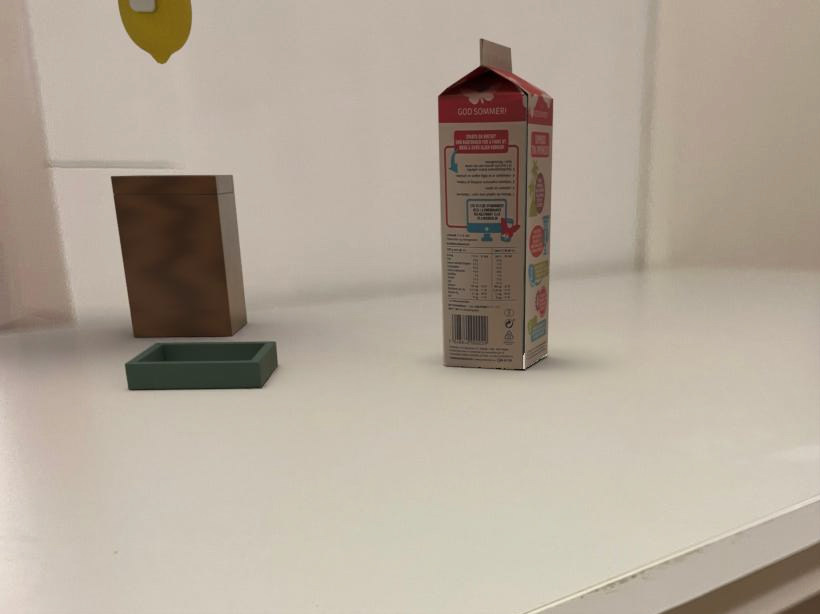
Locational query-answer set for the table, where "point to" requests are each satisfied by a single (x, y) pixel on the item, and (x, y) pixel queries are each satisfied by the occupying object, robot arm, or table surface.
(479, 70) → the juice carton
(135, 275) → the brown upright box
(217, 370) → the low tray
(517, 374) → the table surface
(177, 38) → the lemon
